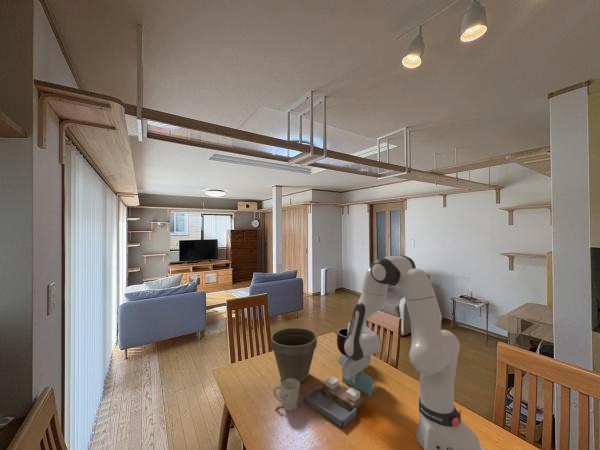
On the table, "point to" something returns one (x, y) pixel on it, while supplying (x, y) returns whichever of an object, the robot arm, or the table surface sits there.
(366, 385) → the teal rectangular block
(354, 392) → the tile
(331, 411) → the tray
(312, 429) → the table surface
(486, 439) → the table surface
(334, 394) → the board
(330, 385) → the tile
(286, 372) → the plant pot
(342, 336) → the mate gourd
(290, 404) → the mug
